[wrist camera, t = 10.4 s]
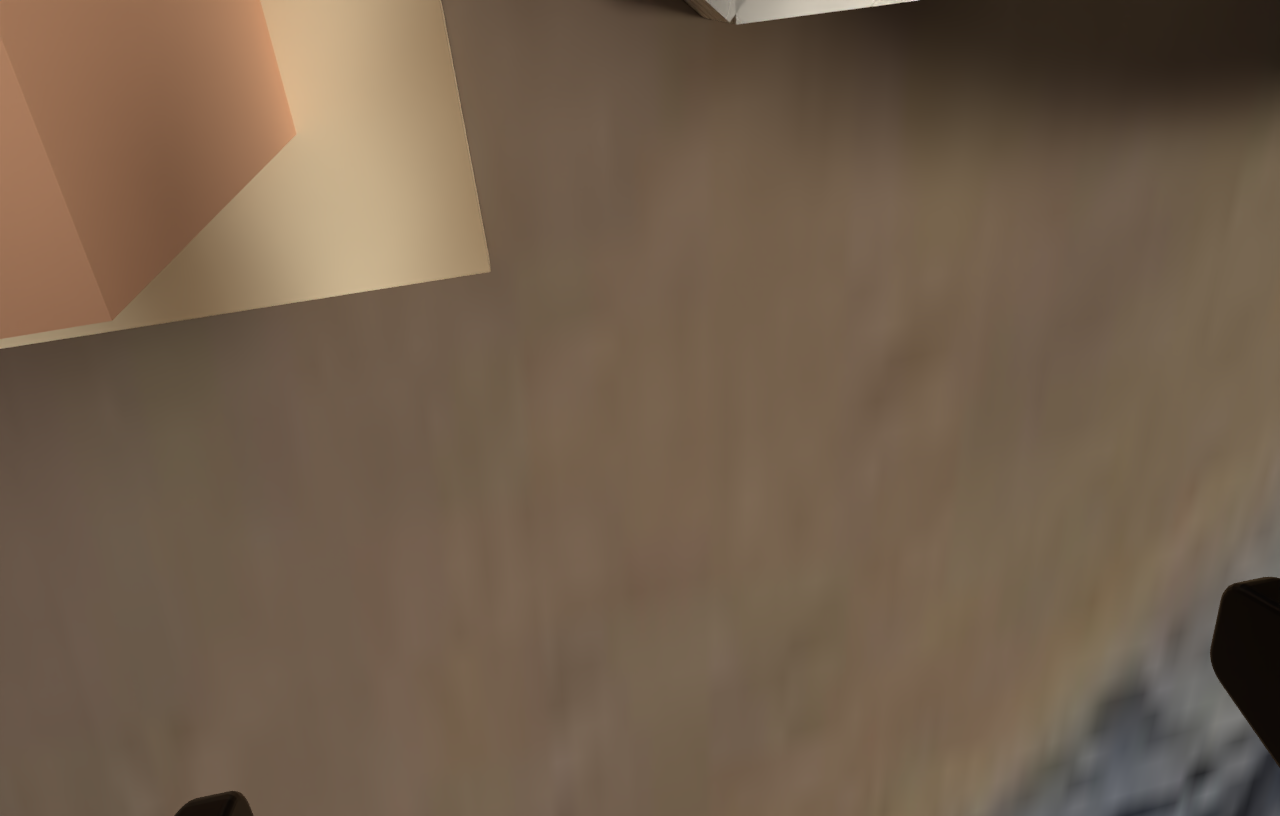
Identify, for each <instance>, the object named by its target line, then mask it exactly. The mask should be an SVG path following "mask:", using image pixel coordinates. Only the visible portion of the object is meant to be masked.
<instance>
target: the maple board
mask: <svg viewBox="0 0 1280 816" xmlns="http://www.w3.org/2000/svg"><path fill="white" fill-rule="evenodd" d="M260 1H261V5H262V9H263V13H264V16H265V20H266V24H267V27H268V31H269V35H270V38H271V42H272V46H273V49H274V53H275V57H276V60H277V64H278V68H279V71H280V75H281V79H282V82H283V86H284V90H285V93H286V97H287V101H288V104H289V108H290V112H291V115H292V119H293V123H294V126H295V130H296V135H295V136H294V137H293V138H292V139H291V140H290V141H289V142H288V143H287V144H286V145H285V147H284V148H283V149H282V150H281V151H280V152H279V153H278V154H277V155H276V156H275V157H274V158H273V159H272V160H271V161H270V162H269V163H268V164H267V165H266V166H265V167H264V168H263V169H262V170H261V171H260V172H259V173H258V174H257V175H256V176H255V177H254V178H253V179H252V180H251V181H250V182H249V183H248V184H247V185H246V186H245V187H244V188H243V189H242V190H241V191H240V192H239V193H238V194H237V195H236V196H235V197H234V198H233V199H232V200H231V201H230V202H229V203H228V204H227V205H226V206H225V207H224V208H223V209H222V210H221V211H220V212H219V213H218V214H217V215H216V216H215V217H214V218H213V219H212V220H211V221H210V222H209V223H208V224H207V225H206V226H205V227H204V228H203V229H202V230H201V231H200V232H199V233H198V234H197V236H196V237H195V238H194V239H193V240H192V241H191V242H190V243H189V244H188V245H187V246H186V247H185V248H184V249H183V250H182V251H181V252H180V253H179V254H178V255H177V256H176V257H175V258H174V259H173V260H172V261H171V262H170V263H169V264H168V265H167V266H166V267H165V268H164V269H163V270H162V271H161V272H160V273H159V274H158V275H157V276H156V277H155V278H154V279H153V280H152V281H151V282H150V283H149V284H148V285H147V286H146V287H145V288H144V289H143V290H142V291H141V292H140V293H139V294H138V295H137V296H136V297H135V298H134V299H133V300H132V301H131V302H130V303H129V304H128V305H127V306H126V307H125V308H124V309H123V310H122V311H121V312H120V313H119V314H118V315H117V316H116V317H115V318H114V319H113V320H112V321H108V322H102V323H96V324H90V325H83V326H77V327H71V328H65V329H59V330H53V331H47V332H41V333H34V334H28V335H22V336H16V337H10V338H4V339H0V349H3V348H9V347H15V346H22V345H28V344H35V343H41V342H47V341H54V340H60V339H66V338H73V337H79V336H85V335H92V334H98V333H104V332H111V331H117V330H123V329H130V328H136V327H142V326H149V325H155V324H162V323H168V322H174V321H181V320H187V319H193V318H200V317H206V316H212V315H219V314H225V313H231V312H238V311H244V310H250V309H257V308H263V307H269V306H276V305H282V304H288V303H295V302H301V301H308V300H314V299H320V298H327V297H333V296H339V295H346V294H352V293H358V292H365V291H371V290H377V289H384V288H390V287H396V286H403V285H409V284H415V283H422V282H428V281H435V280H441V279H447V278H454V277H460V276H466V275H473V274H479V273H485V272H491V271H490V262H489V255H488V249H487V244H486V239H485V233H484V228H483V222H482V217H481V212H480V206H479V201H478V196H477V190H476V185H475V180H474V174H473V169H472V163H471V158H470V153H469V147H468V142H467V137H466V131H465V126H464V121H463V115H462V110H461V104H460V99H459V94H458V88H457V83H456V78H455V72H454V67H453V62H452V56H451V51H450V45H449V40H448V35H447V29H446V24H445V19H444V13H443V8H442V3H441V0H260Z"/></svg>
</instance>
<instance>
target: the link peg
mask: <svg viewBox="0 0 1280 816" xmlns="http://www.w3.org/2000/svg"><path fill="white" fill-rule="evenodd" d="M295 135H296V130H295V126H294V123H293V119H292V115H291V112H290V108H289V104H288V101H287V97H286V93H285V90H284V86H283V82H282V79H281V75H280V71H279V68H278V64H277V60H276V57H275V53H274V49H273V46H272V42H271V38H270V35H269V31H268V27H267V24H266V20H265V16H264V13H263V9H262V5H261V1H260V0H0V339H4V338H10V337H16V336H22V335H28V334H34V333H41V332H47V331H53V330H59V329H65V328H71V327H77V326H83V325H90V324H96V323H102V322H108V321H112V320H113V319H114V318H115V317H116V316H117V315H118V314H119V313H120V312H121V311H122V310H123V309H124V308H125V307H126V306H127V305H128V304H129V303H130V302H131V301H132V300H133V299H134V298H135V297H136V296H137V295H138V294H139V293H140V292H141V291H142V290H143V289H144V288H145V287H146V286H147V285H148V284H149V283H150V282H151V281H152V280H153V279H154V278H155V277H156V276H157V275H158V274H159V273H160V272H161V271H162V270H163V269H164V268H165V267H166V266H167V265H168V264H169V263H170V262H171V261H172V260H173V259H174V258H175V257H176V256H177V255H178V254H179V253H180V252H181V251H182V250H183V249H184V248H185V247H186V246H187V245H188V244H189V243H190V242H191V241H192V240H193V239H194V238H195V237H196V236H197V234H198V233H199V232H200V231H201V230H202V229H203V228H204V227H205V226H206V225H207V224H208V223H209V222H210V221H211V220H212V219H213V218H214V217H215V216H216V215H217V214H218V213H219V212H220V211H221V210H222V209H223V208H224V207H225V206H226V205H227V204H228V203H229V202H230V201H231V200H232V199H233V198H234V197H235V196H236V195H237V194H238V193H239V192H240V191H241V190H242V189H243V188H244V187H245V186H246V185H247V184H248V183H249V182H250V181H251V180H252V179H253V178H254V177H255V176H256V175H257V174H258V173H259V172H260V171H261V170H262V169H263V168H264V167H265V166H266V165H267V164H268V163H269V162H270V161H271V160H272V159H273V158H274V157H275V156H276V155H277V154H278V153H279V152H280V151H281V150H282V149H283V148H284V147H285V145H286V144H287V143H288V142H289V141H290V140H291V139H292V138H293V137H294V136H295Z"/></svg>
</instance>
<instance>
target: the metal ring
mask: <svg viewBox="0 0 1280 816" xmlns="http://www.w3.org/2000/svg"><path fill="white" fill-rule="evenodd" d="M684 1H685V2H686V3H687V4H689V5H690V6H691V7H692V8H693V9H694V10H695V11H696V12H697V13H699V14H700V15H701V16H702V17H704V18H709V19H710V20H715V21H721V22H726V23H731V24H736V25H737V24H744V23H752V22H759V21H767V20H774V19H782V18H790V17H797V16H805V15H812V14H820V13H828V12H835V11H843V10H850V9H858V8H865V7H873V6H881V5H888V4H896V3H903V2H911V1H918V0H684Z"/></svg>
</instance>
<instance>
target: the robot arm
mask: <svg viewBox="0 0 1280 816" xmlns="http://www.w3.org/2000/svg"><path fill="white" fill-rule="evenodd" d="M1210 657H1211V663H1212V666H1213V669H1214V671H1215V674H1216V676H1217V678H1218V679H1219V681H1220V682H1221V684H1222V685H1223V687H1224V688H1225V690H1226V691H1227V693H1228V694H1229V695H1230V697H1231V698H1232V700H1233V701H1234V703H1235V704H1236V706H1237V707H1238V708H1239V710H1240V711H1241V713H1242V714H1243V716H1244V717H1245V718H1246V720H1247V721H1248V723H1249V724H1250V726H1251V727H1252V729H1253V730H1254V731H1255V733H1256V734H1257V736H1258V737H1259V739H1260V740H1261V742H1262V743H1263V744H1264V746H1265V747H1266V749H1267V750H1268V752H1269V753H1270V754H1271V756H1272V757H1273V759H1274V760H1275V762H1276V763H1277V765H1278V766H1279V767H1280V578H1276V577H1263V578H1258V579H1253V580H1248V581H1243V582H1238V583H1234V584H1232V585H1230V586H1228V588H1227V589H1226V590H1225V591H1224V593H1223V595H1222V597H1221V602H1220V606H1219V611H1218V616H1217V620H1216V625H1215V630H1214V634H1213V639H1212V644H1211V649H1210ZM175 816H253V813H252V811H251V808H250V806H249V803H248V801H247V800H246V798H245V797H244V796H243V795H242V794H241V793H240V792H237V791H229V792H224V793H220V794H215V795H210V796H205V797H200V798H196V799H193V800H191V801H189V802H188V803H186V804H185V805H184V806H183V807H182V808H181V809H180V810H179V811H178V812H177V813H176V814H175Z"/></svg>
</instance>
